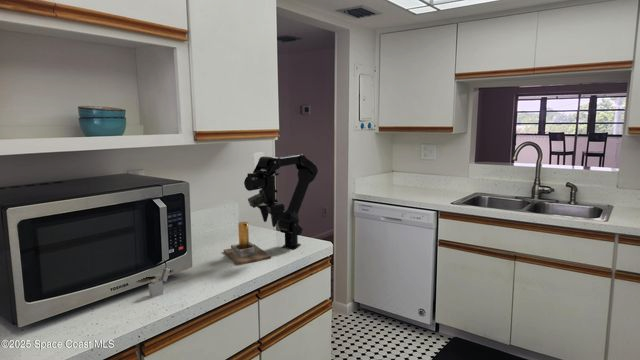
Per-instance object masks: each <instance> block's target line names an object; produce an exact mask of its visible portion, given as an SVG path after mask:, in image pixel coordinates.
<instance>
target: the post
mask: <svg viewBox="0 0 640 360" xmlns="http://www.w3.org/2000/svg"><path fill="white" fill-rule="evenodd" d="M237 224H238V227H237V228H238V244H239V250H240V249H246V248H249V242H250V240H249V239H250V237H249V235H250V234H249V222H248V221H240V222H238V223H237Z"/></svg>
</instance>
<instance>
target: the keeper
mask: <svg viewBox="0 0 640 360" xmlns="http://www.w3.org/2000/svg"><path fill="white" fill-rule="evenodd" d="M223 253H224V254H225V255H226V256H227V257H228V258H230V260H232V261H233V262H234V264H236V265H237V266H241V265H245V264H251V263H255V262H260V261H265V260H270V259H271V258H272V257H271V255H270V254H269V253H268V252H266V251H264V250H263V249H262V248H260V247H259V246H257V245H256V244H253V243H252V242H251V241H249V248H246V249H240V250H239V243H238V244H237V243H236V244H231V245H230V248H227V249H223Z"/></svg>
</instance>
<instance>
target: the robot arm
mask: <svg viewBox="0 0 640 360" xmlns="http://www.w3.org/2000/svg"><path fill="white" fill-rule="evenodd" d="M291 165H294V166H295V169H296V170H297V178H298V181H297V183H296V186H295V189H294V191H293V194H292V197H291V200H290V202H289V205H288V206H287V210H286V206H285V204H284V203H282V202H279V200H278V198H276V197H277V196H276V195H277V194H276V193H278V189H276V176H277V177H278V176H279V175H280V173H279V172H278V171H277V170H279V169H280V168H281V167H286V166H291ZM318 170H319V169H318V167H317V165H316V164H314V163H313V162H312V161H311V160H310V159H308V158H307V157H306V155H304V154H303V153H301V154H300V153H294V154H291V155H290V154H289V155H285V156H284V155H283V156H278V157H275V156H274V157H273V156H264V155H263V156H260V157H259V159H258V162H257V164H256V166H255V168H254V170H253V171H252V173H251V172H248V173H247V176H246V177H245V178H244V181H243V184H244V187H245V189H246V190H247V191H249V192H252V191H256V190H257V191H258V190H259V191H258V193H257V194H254V195H253V196H250V197H248V198H247V201H248V204H249V206H250V207H251V208H253V209H254V208H258V209H259V211H260V215H261V217H262V220H263V223H266V222H267V221H268V218H269V216H270V219H271V225H272V227H273V228H274V227H275V228H276V226H277V225H278V228H279V230H280V233H282V234H284V244H283V245H281V248H283V249H291V250H296V249H297V248H299V247H300V246H302V244H301V243H299V240H298V239H299V236H300V235H301V234H302V233H303V228H302V226H300V225H299V222H300V217H299V211H300V208H301V206H302V203H303V201H304V199H305V196H306V193H307V190H308V188H309V185H310V184H311V183H312V182H313V181H314V180H315V179H316V177H317V175H318Z"/></svg>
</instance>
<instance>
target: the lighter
mask: <svg viewBox="0 0 640 360" xmlns="http://www.w3.org/2000/svg"><path fill="white" fill-rule="evenodd" d="M169 274H170V269H168V268H164V269H163V272H162V275H161V276H160V277H159V278H155V279H153V280H152V281H151V283H149V284H148V292H149V293H148V294H149V298H151V299H153V298H156V297H159V296H160V295H164V283H163V282H167V280H168V277H169Z"/></svg>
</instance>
